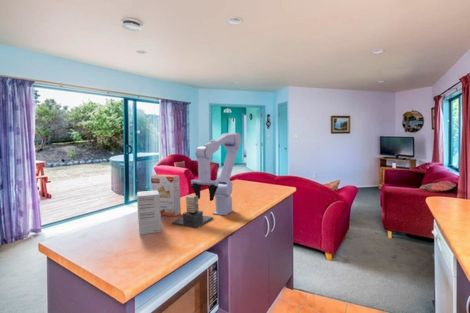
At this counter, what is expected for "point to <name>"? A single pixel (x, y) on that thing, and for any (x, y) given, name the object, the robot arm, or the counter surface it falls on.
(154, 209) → the supplement box
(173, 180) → the cracker box
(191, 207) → the birch post
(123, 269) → the counter surface
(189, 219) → the stand
